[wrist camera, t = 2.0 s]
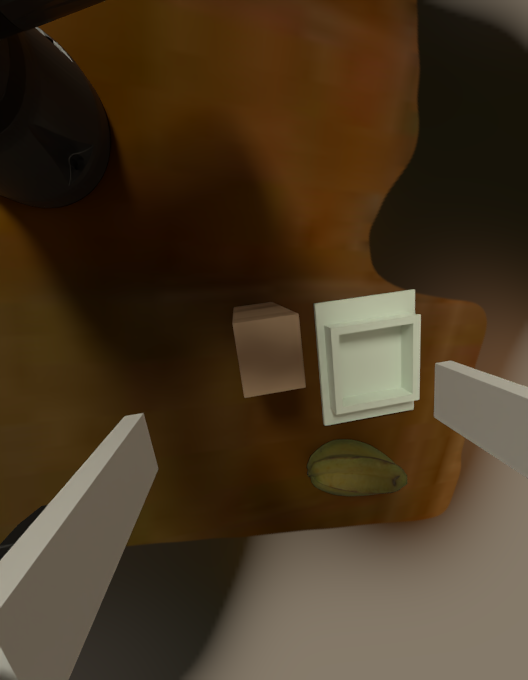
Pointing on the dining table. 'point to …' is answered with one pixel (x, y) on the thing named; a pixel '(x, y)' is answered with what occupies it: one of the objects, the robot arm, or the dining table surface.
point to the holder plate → (368, 355)
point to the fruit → (354, 469)
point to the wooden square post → (268, 348)
